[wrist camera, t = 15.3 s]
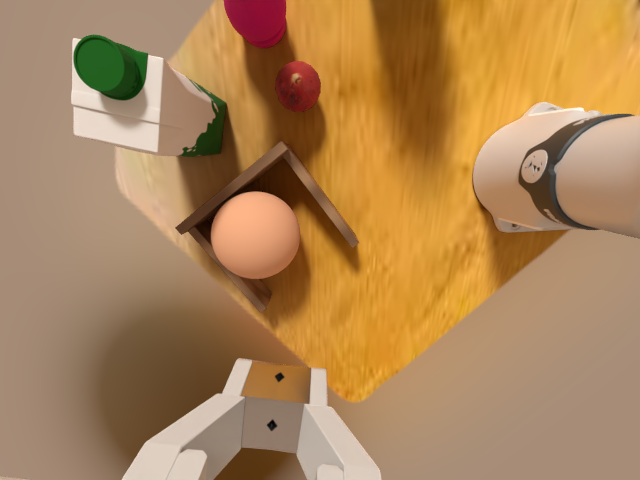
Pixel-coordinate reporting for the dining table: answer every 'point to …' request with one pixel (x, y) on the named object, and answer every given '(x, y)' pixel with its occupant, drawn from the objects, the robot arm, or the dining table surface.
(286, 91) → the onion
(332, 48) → the dining table surface
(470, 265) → the dining table surface
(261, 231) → the rubber ball
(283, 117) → the dining table surface
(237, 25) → the pepper mill
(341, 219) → the corral
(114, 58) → the milk carton
